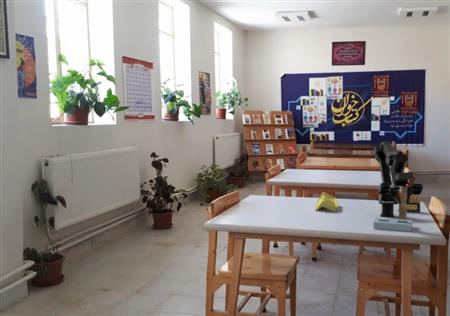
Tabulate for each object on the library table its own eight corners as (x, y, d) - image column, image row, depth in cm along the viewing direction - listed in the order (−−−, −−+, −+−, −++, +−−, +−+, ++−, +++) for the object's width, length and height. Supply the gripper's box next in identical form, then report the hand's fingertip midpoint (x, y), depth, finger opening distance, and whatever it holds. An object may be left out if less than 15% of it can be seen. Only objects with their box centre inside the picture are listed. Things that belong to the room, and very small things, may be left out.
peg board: (375, 223, 231) (375, 217, 230) (411, 226, 225) (412, 220, 224) (373, 228, 222) (373, 222, 221) (411, 231, 216) (411, 224, 215)
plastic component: (338, 207, 259) (321, 199, 260) (331, 219, 260) (314, 211, 261) (337, 198, 278) (321, 190, 279) (331, 209, 279) (315, 201, 281)
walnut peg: (397, 217, 222) (398, 186, 221) (402, 216, 223) (403, 186, 222) (402, 218, 219) (403, 187, 218) (407, 218, 220) (408, 187, 219)
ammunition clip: (398, 211, 259) (399, 189, 258) (398, 211, 261) (399, 188, 260) (420, 212, 257) (421, 189, 256) (419, 211, 259) (420, 189, 258)
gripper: (380, 165, 224) (385, 193, 214) (422, 165, 222) (429, 193, 212) (376, 180, 232) (381, 207, 222) (416, 180, 231) (423, 208, 221)
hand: (403, 203), depth 219 cm, fingers closed on walnut peg, 3 cm apart
